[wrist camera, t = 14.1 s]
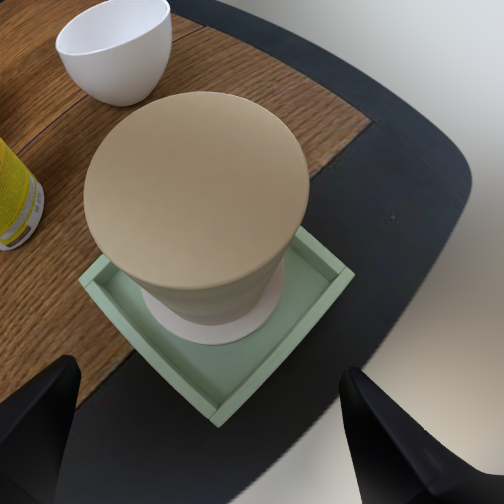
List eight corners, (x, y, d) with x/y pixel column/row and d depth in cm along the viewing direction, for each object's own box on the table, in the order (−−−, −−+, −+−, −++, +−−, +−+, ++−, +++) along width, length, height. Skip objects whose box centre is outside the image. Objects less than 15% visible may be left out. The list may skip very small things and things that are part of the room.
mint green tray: (335, 287, 17) (356, 274, 14) (220, 415, 15) (218, 428, 12) (215, 182, 19) (213, 153, 16) (100, 292, 16) (77, 279, 13)
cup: (117, 142, 19) (86, 69, 13) (58, 90, 21) (31, 33, 14) (199, 81, 21) (195, 8, 15) (127, 42, 23) (114, -15, 16)
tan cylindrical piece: (240, 367, 14) (262, 397, 5) (133, 307, 15) (7, 233, 5) (294, 261, 16) (377, 134, 6) (192, 210, 16) (161, 50, 7)
